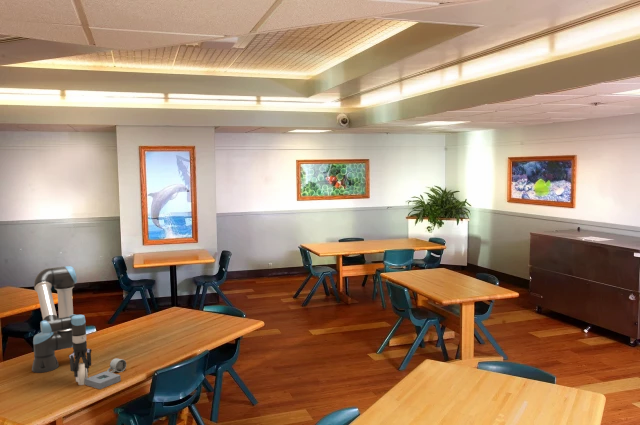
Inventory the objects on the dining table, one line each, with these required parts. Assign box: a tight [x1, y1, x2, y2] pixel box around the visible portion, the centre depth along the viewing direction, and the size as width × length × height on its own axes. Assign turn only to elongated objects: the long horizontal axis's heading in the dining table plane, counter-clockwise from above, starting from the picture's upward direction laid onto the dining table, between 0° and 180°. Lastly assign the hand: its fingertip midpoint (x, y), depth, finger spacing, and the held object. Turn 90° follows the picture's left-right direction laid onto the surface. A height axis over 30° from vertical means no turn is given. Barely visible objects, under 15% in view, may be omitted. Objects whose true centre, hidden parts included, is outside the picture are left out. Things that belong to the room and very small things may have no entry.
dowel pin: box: [77, 362, 86, 386], centre depth 310 cm, size 4×4×12 cm
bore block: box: [84, 370, 122, 390], centre depth 311 cm, size 14×14×4 cm
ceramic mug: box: [106, 357, 127, 373], centre depth 329 cm, size 11×8×8 cm
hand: (81, 380), depth 310 cm, fingers open, 4 cm apart
